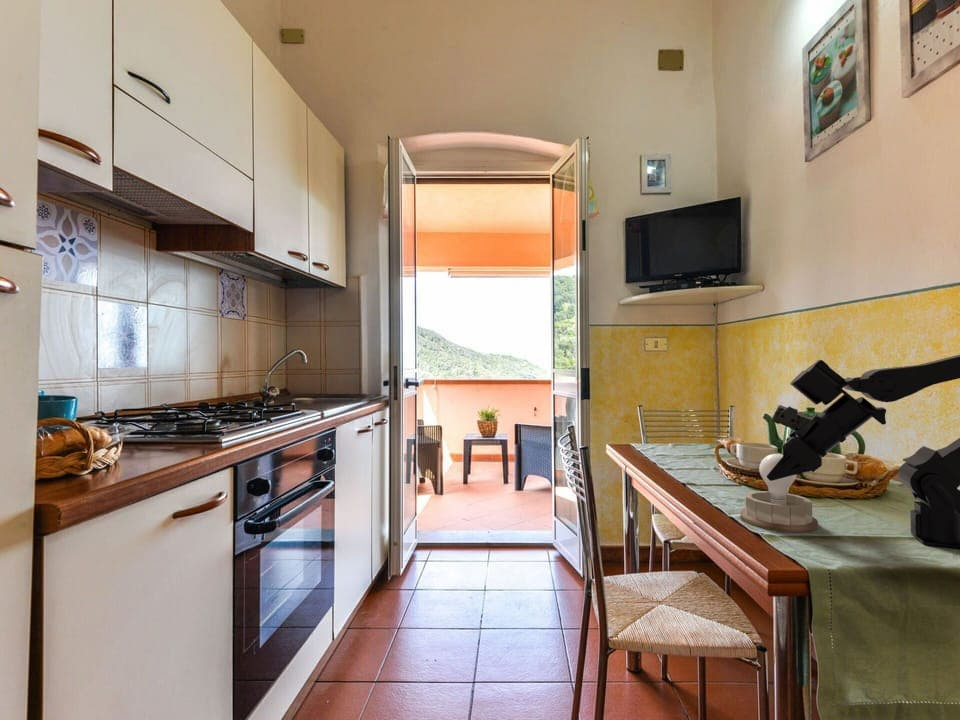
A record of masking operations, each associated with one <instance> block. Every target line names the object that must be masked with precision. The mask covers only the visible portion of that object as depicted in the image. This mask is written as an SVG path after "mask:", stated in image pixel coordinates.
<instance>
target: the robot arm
mask: <svg viewBox="0 0 960 720" xmlns="http://www.w3.org/2000/svg"><path fill="white" fill-rule="evenodd" d="M958 379H960V354H956V355H952V356H948V357H944V358H941V359H936V360H932V361H928V362H925V363H921V364H916V365H915V364H913V365H906V366H894V367H887V368H885V367H884V368H875V369H870V370H867V371H865V372H864V373H862V374H861V376H858V377H857V376H856V377H847V376H846V378H844V377H842V376H841V375H840V374H839V373H838V372H836V371H835V370H834V369H832V368H831V367H830V366H829V364H827V362H825V361H824V360H822V359H818V360H816V361H815V362H814V363H813V364H812V365H810V366H809V367H807V368H805V370H802V371H801V372H799V374H797V375H796V376H795V378H793V379H792V381H791V382H790V384H789V385H791V386H792V387H793V388H794V389H796V391H798V392H799V393H801V395H802V396H804V397H805V398H806V399H808V401H810V402H811V403H813V404H814V405H815V406H816V405H819V404H820V403H822V404H823V405H824V406H827V405H829V404H830V403H831V404H830V405H829V406H828V407H827V408H825V409H824V410H823V411H822V412H820V413H815V414H814V415H813V416H812V417H810V416H807V415H805V414H803V413H802V412H799V409H798V408H793V407H792V406H791V405H788V407H786V406H784V405H781V404H779V405H778V406H777V408H776V409H775V411H774V413H773V415H772V418H771V422H773V423H775V424H777V425H779V424H780V425H782V426H784V427H787V428H789V429H790V430H793V431H792V432H790V433H789V435H788V436H789V437H788V436H787V438H786V439H785V440H786V441H785V442H784V443H783V445H782V446H781V449H782V455H783V457H782V458H781V459H780V460H779V462H778V463H777V464H776V465H775V466H774V468H773V469H772V470H771V471H770V473H769V474H768V475H767V478H768V479H769V480H770V481H773V480H777V479H781V478H784V477H788V476H792V475H796V474H797V475H799V474H803V473H804V474H805V473H807V472H808V473H809V472H812V473H815V471H817V470H818V469H819V468H821V467H822V466H823V458H824V457H825V456H827V455H828V452H830V451H831V450H833V448H835V447H836V446H837V445H838V444H840V443H841V444H842V443H843V442H845V441H846V440H847V438H848V437H849V436H851V434H853V433H854V432H856V431H857V430H858V429H859V428H861V427H862V426H863V425H864V424H865V423H867V422H868V421H870V420H871V419H872V418H873V419H874V420H875V421H877V422H878V423H879V424H880V425H882V426H884V425H886V424H887V420H886V414H887V409H886V408H885V407H881V406H880V407H876V406H875V405H874V404H873V403H871V402H870V401H868V400H867V399H870V400H872V401H877V402H881V403H893V402H896V401H898V400H902V399H904V398H906V397H909V396H912V395H915V394H916V393H918V392H920V391H922V390H924V389H926V388H929V387H931V386H934V385H937V384H941V383H947V382H950V381H953V380H958ZM844 389H845V390H844ZM846 390H847V391H852V392H857V393H858V392H859V393H861V394H862V395H863V396H860V397H857V398H854V397H853V396H852V395H851V394H849V393H848V392H847V391H846ZM841 394H842V395H841ZM840 395H841V396H840ZM837 398H838V399H837ZM866 398H867V399H866ZM832 402H833V403H832ZM902 461H903V462H904V463H903V464H902V465H901V466H900V467H899V468H898V479H899V482H900V483H901V485H903V486H904V487H905V488H906V489H907V490H909V491H910V492H911V494H912V496H913V499H915V500H917V501H913V505H914V506H913V507H914V508H913V509H910V534H911V535H913V536H914V537H915V539H917V540H918V541H919V542H921V543H922V544H923V545H927V546H928V545H929V546H934V547H935V546H938V547H945V548H954V549H955V548H956V549H960V490H959V489H958V488H959V487H960V437H959V438H957V439H956V440H954V441H952V442H951V443H950V444H948V445H947V446H944V447H942V448H939V449H932V448H930V447H927V446H925V445H923V446H921V447H920V448H919V449H917V451H915V452H914V453H913V454H912V455H911V456H908V457H904V458H903V459H902Z"/></svg>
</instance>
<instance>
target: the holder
mask: <svg viewBox="0 0 960 720" xmlns="http://www.w3.org/2000/svg"><path fill="white" fill-rule="evenodd" d="M786 502H787V503H786V504H787V505H784V504H773V503H771V494H770V492H769V490H765V491H764V490H761V491H759V490H757V491H751V492H747V493H745V508H742V509H741V510H740V519H741V520H742V521H743V522H745V523H747V524H748V525H751V526H754V527H758V528H762V529H766V530H771V531H778V532H784V533H810V532H814V531H817V530H818V528H819V520H818V519H817V518H815V517H814V516H813V503H812V501H811V499H809V498H806V497H803V496H802V495H797V494H793V493H788V494H787V498H786Z"/></svg>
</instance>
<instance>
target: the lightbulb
mask: <svg viewBox="0 0 960 720" xmlns="http://www.w3.org/2000/svg"><path fill="white" fill-rule="evenodd" d="M782 454H783V453H782ZM782 454H781V453H771V454H768V455H766V456H765V457H764V458H762V459H761V461H760V463H759V468H758V469H759V474H760V477H761V478H762V479H763V481H764V483H766V485H767V488H768V491H769V492H770V494H771V503H773V504H784V505H787V504H786V503H787V502H786V498H787V494H789V491H790V488H791V485H793V483H794V482H795V480H796V478H797V475H798V474H796V475H792V476H788V477H784V478H781V479H777V480H773V481H770V480H769V479H768V478H767V475H768V474H769V473H770V471H771V470H772V469H773V468H774V466H775V465H776V464H777V463H778V462H779V460H780V459H781V458H782V457H783V455H782Z"/></svg>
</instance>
